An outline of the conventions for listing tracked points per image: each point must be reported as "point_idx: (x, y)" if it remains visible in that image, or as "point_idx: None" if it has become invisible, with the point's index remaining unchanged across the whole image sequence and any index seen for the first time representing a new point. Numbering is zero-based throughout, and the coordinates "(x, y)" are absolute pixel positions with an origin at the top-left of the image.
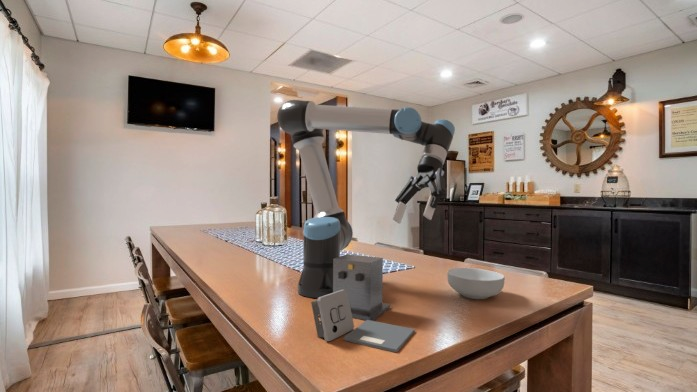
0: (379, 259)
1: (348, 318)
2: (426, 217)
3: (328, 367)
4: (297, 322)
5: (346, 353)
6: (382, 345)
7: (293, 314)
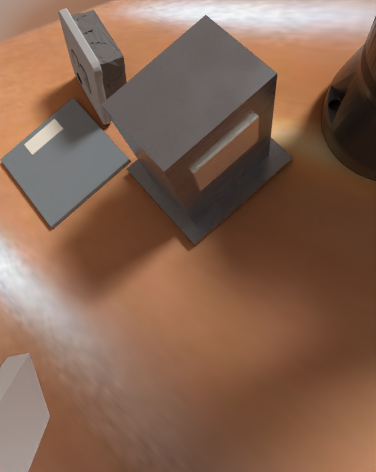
0: (145, 152)
1: (95, 102)
2: (34, 385)
3: (12, 65)
4: None
5: (34, 94)
6: (21, 145)
7: None
